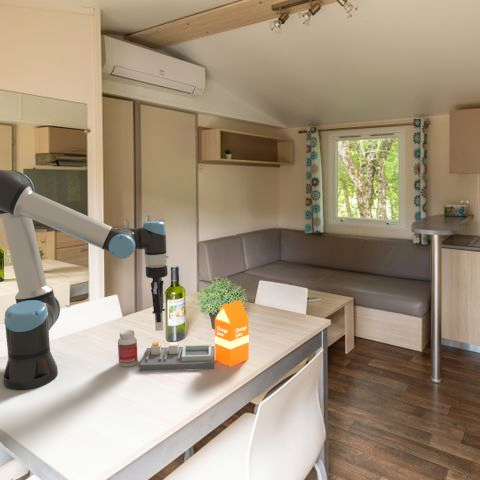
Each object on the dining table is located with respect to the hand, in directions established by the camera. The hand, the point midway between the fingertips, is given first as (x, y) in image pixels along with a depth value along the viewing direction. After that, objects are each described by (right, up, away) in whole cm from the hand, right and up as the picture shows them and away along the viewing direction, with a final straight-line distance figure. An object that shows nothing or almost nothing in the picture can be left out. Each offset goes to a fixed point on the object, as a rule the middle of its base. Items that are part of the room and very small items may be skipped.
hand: (159, 329), depth 152 cm
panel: (+8, -9, -7) cm, 14 cm away
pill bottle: (-9, -10, -9) cm, 16 cm away
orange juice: (+26, -9, -6) cm, 28 cm away
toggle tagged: (0, -7, -6) cm, 9 cm away
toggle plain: (+6, -7, -6) cm, 11 cm away
